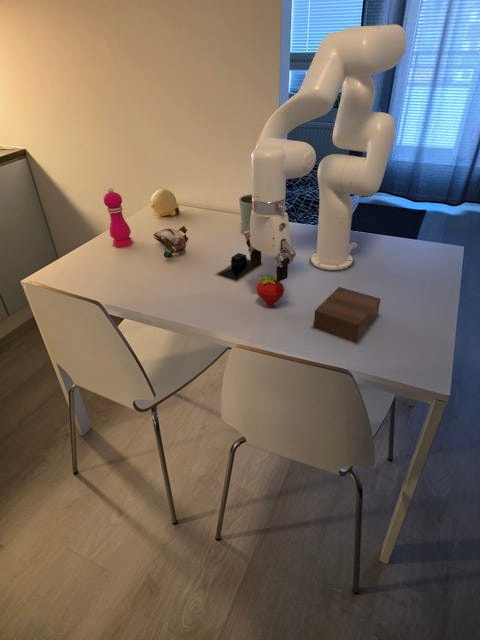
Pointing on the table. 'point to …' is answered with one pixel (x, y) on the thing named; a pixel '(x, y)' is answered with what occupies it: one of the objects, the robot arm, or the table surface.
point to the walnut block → (346, 313)
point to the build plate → (237, 267)
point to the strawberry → (270, 290)
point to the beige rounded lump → (164, 203)
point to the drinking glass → (246, 211)
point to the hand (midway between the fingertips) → (268, 272)
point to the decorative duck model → (172, 241)
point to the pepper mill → (117, 220)
